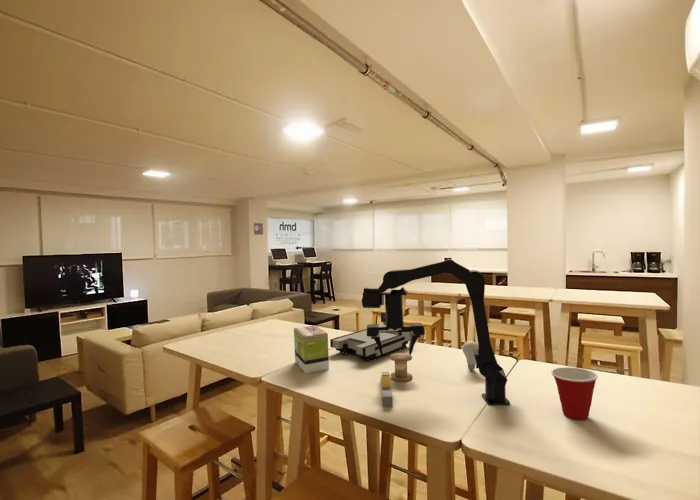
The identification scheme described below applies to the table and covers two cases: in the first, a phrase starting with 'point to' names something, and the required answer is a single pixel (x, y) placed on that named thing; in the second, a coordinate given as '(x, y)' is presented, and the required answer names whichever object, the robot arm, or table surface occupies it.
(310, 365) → the tea box
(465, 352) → the lightbulb
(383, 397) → the grey square bar
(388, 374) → the tab block
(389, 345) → the game console
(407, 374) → the bobbin
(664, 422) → the table surface
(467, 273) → the robot arm
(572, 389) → the plastic cup
